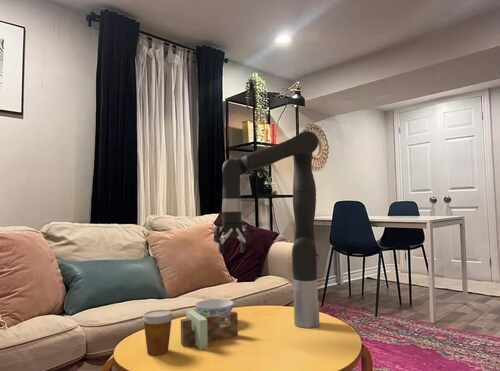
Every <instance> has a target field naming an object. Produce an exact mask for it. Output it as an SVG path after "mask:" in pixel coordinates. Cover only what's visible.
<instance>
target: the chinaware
mask: <svg viewBox="0 0 500 371" xmlns="http://www.w3.org/2000/svg"><path fill="white" fill-rule="evenodd" d="M233 308H234V302H233V301H232V300H230V299H222V298H219V299H218V298H215V299H214V298H213V299H206V300H205V299H204V300H200V301H198V302H196V303H195V309H196V312H197V313H198V314H200V315H201V316H207V315H214V314H217V315H219V325H224V321H226V320H227V312H233Z"/></svg>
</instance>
